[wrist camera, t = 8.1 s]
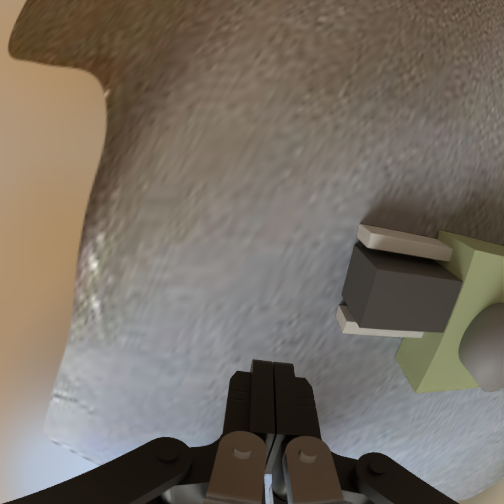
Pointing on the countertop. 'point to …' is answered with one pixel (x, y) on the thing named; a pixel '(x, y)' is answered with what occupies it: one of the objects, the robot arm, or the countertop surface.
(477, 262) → the two-prong plug
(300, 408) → the robot arm
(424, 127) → the countertop surface
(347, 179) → the countertop surface
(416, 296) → the dark grey box
